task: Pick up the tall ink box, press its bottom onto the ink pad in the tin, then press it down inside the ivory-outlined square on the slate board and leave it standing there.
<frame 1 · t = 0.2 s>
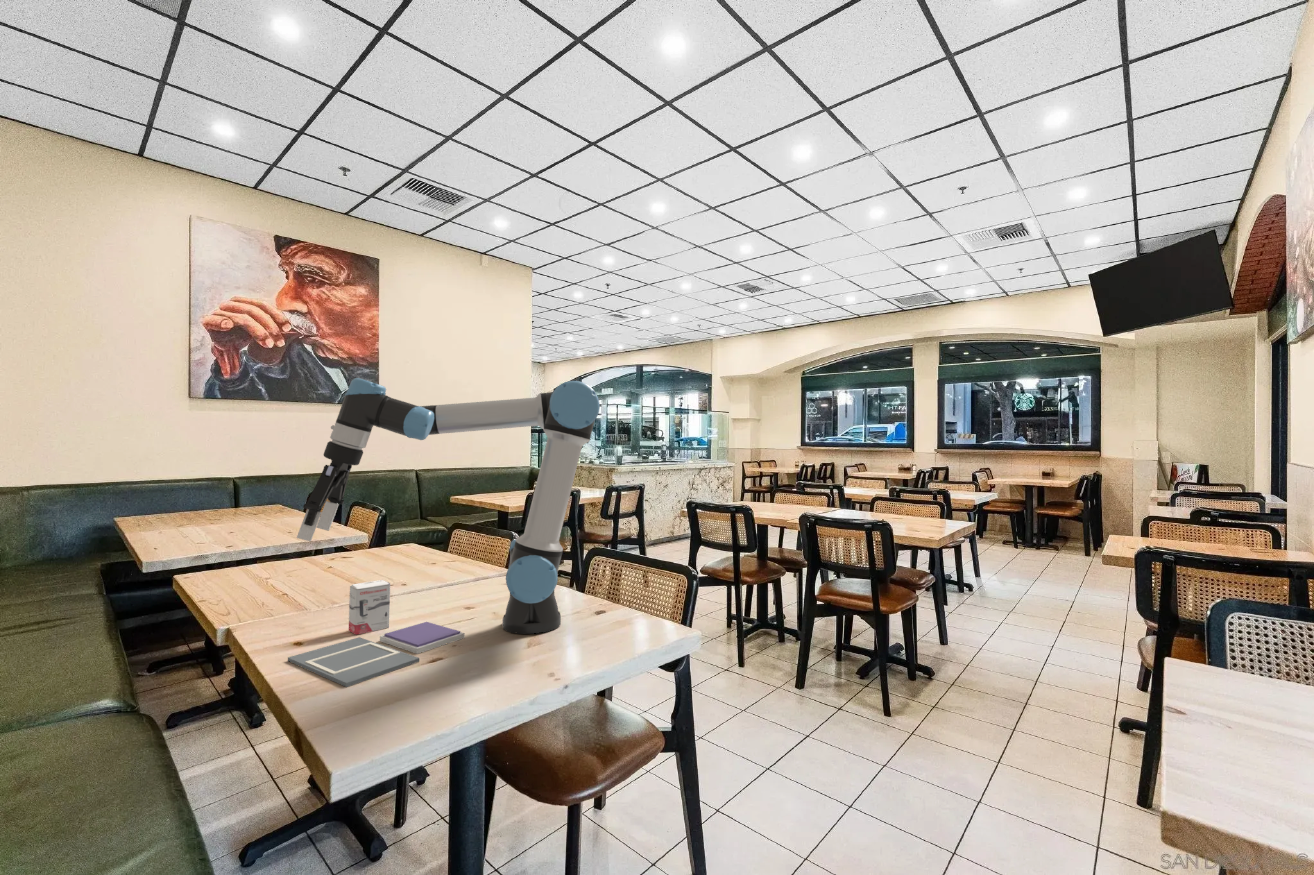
hand: (313, 534, 128), 27 cm above the table, tool tilted 20°, fingers open, 13 cm apart
ink pad: (422, 639, 139), on the table
ink box: (369, 630, 146), on the table
slate board: (353, 661, 125), on the table
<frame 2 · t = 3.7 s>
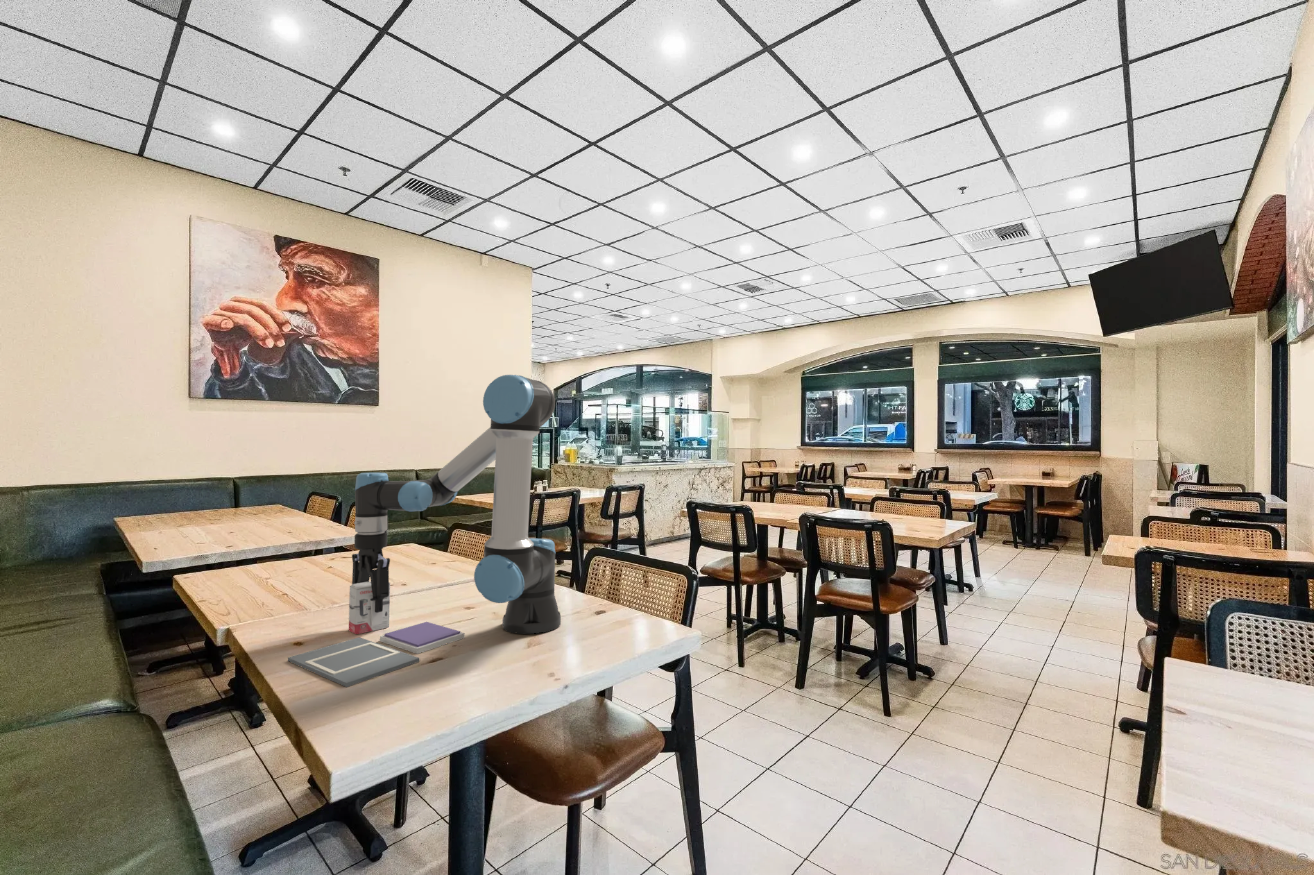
hand: (369, 622, 146), 2 cm above the table, tool pointing down, fingers closed on ink box, 5 cm apart
ink box: (369, 630, 146), on the table, touching gripper
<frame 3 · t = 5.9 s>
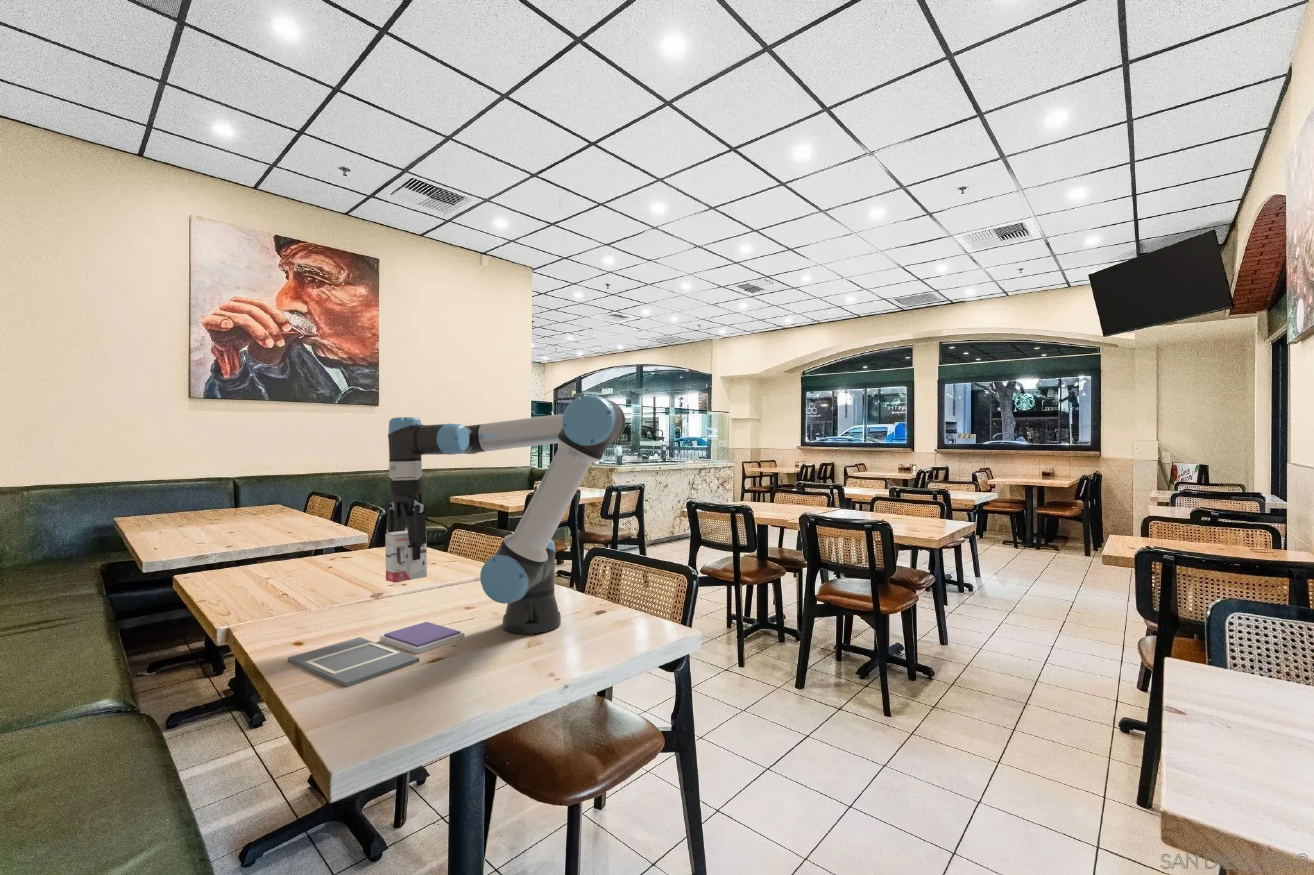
hand: (407, 571, 142), 16 cm above the table, tool pointing down, fingers closed on ink box, 5 cm apart
ink box: (407, 579, 141), point 14 cm above the table, touching gripper
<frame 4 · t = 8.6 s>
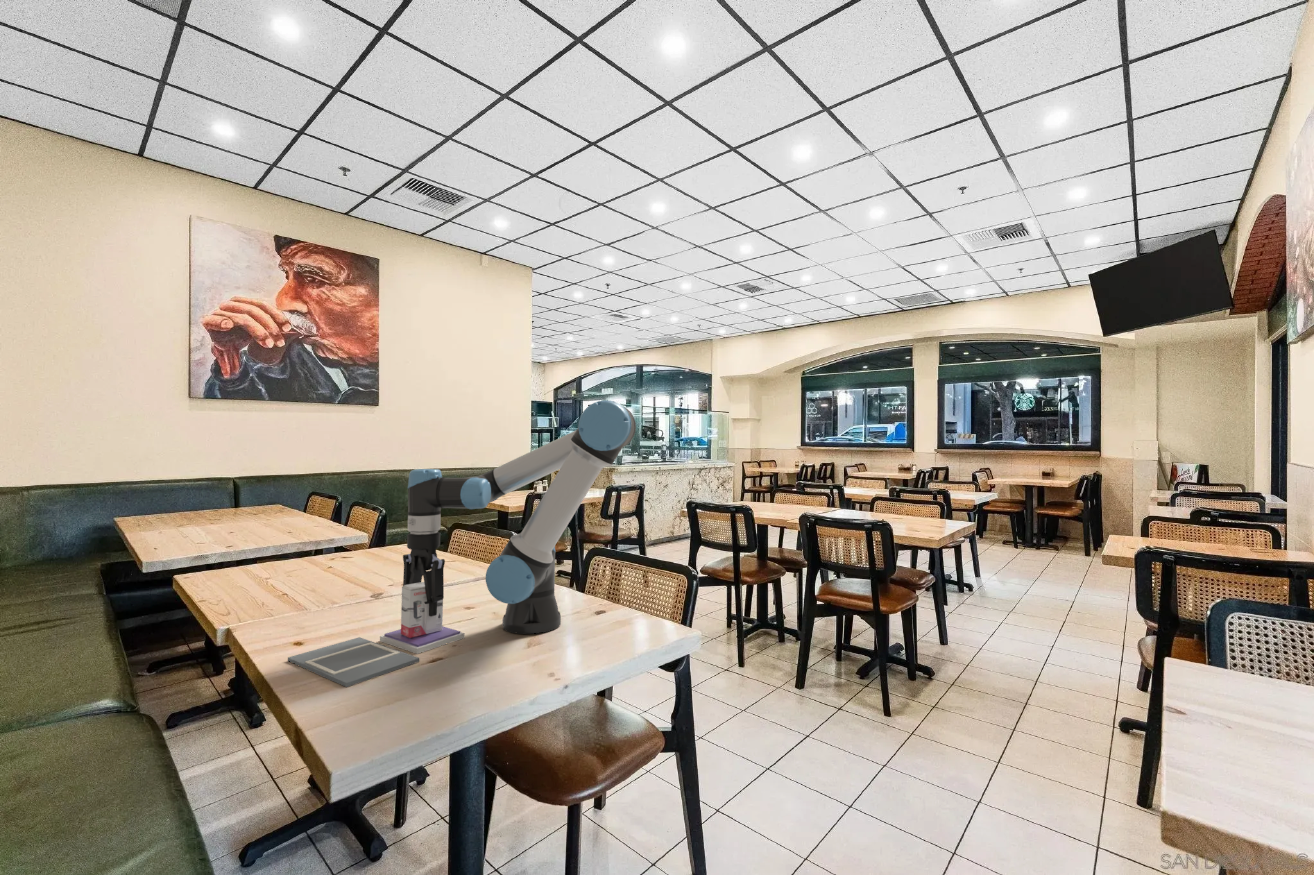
hand: (422, 626, 139), 3 cm above the table, tool pointing down, fingers closed on ink box, 5 cm apart
ink box: (422, 633, 139), point 2 cm above the table, touching gripper, ink pad
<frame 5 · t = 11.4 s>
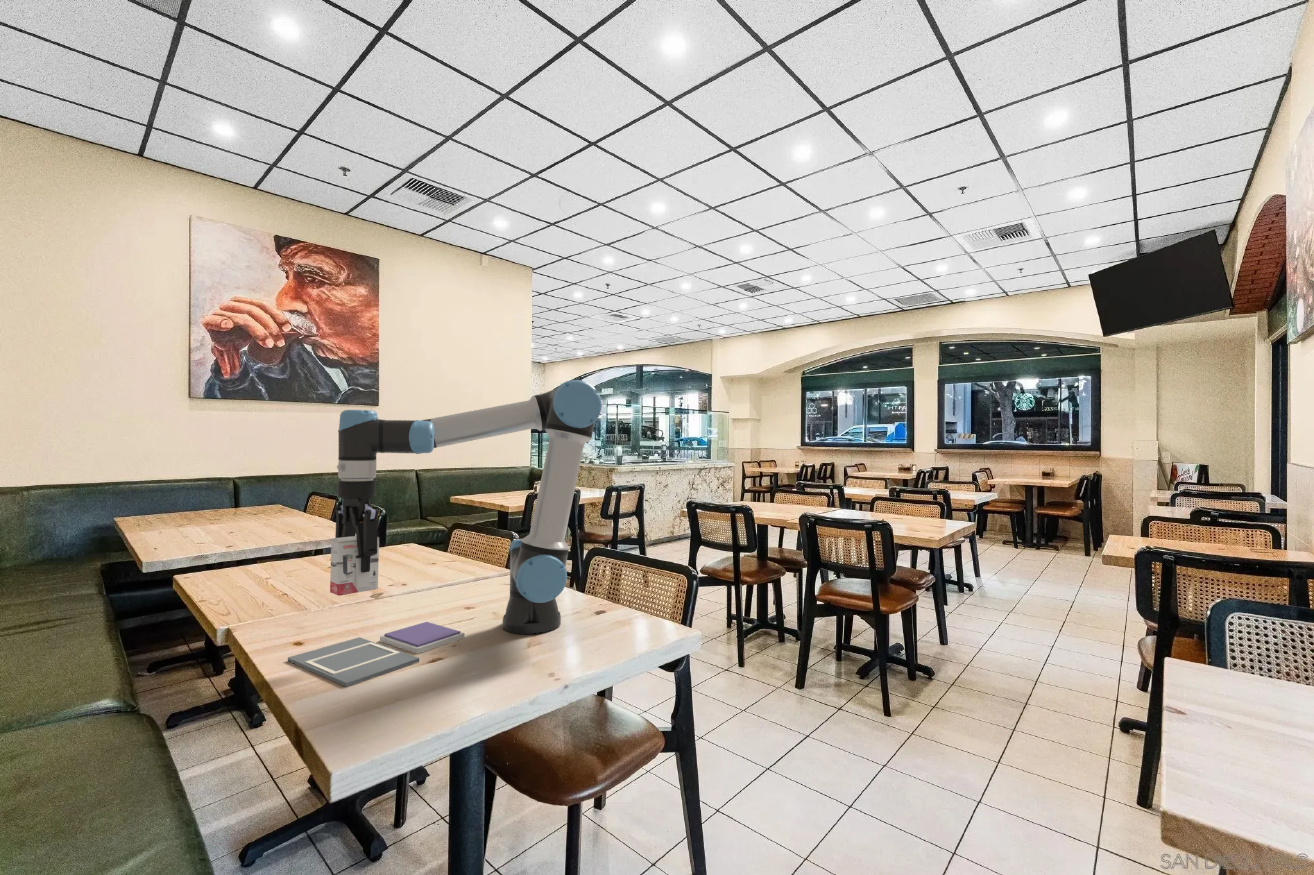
hand: (354, 584, 125), 17 cm above the table, tool pointing down, fingers closed on ink box, 5 cm apart
ink box: (355, 592, 125), point 15 cm above the table, touching gripper
when the fingers open (3 cm above the table, at t = 14.2 s): ink box stays where it is, resting on slate board.
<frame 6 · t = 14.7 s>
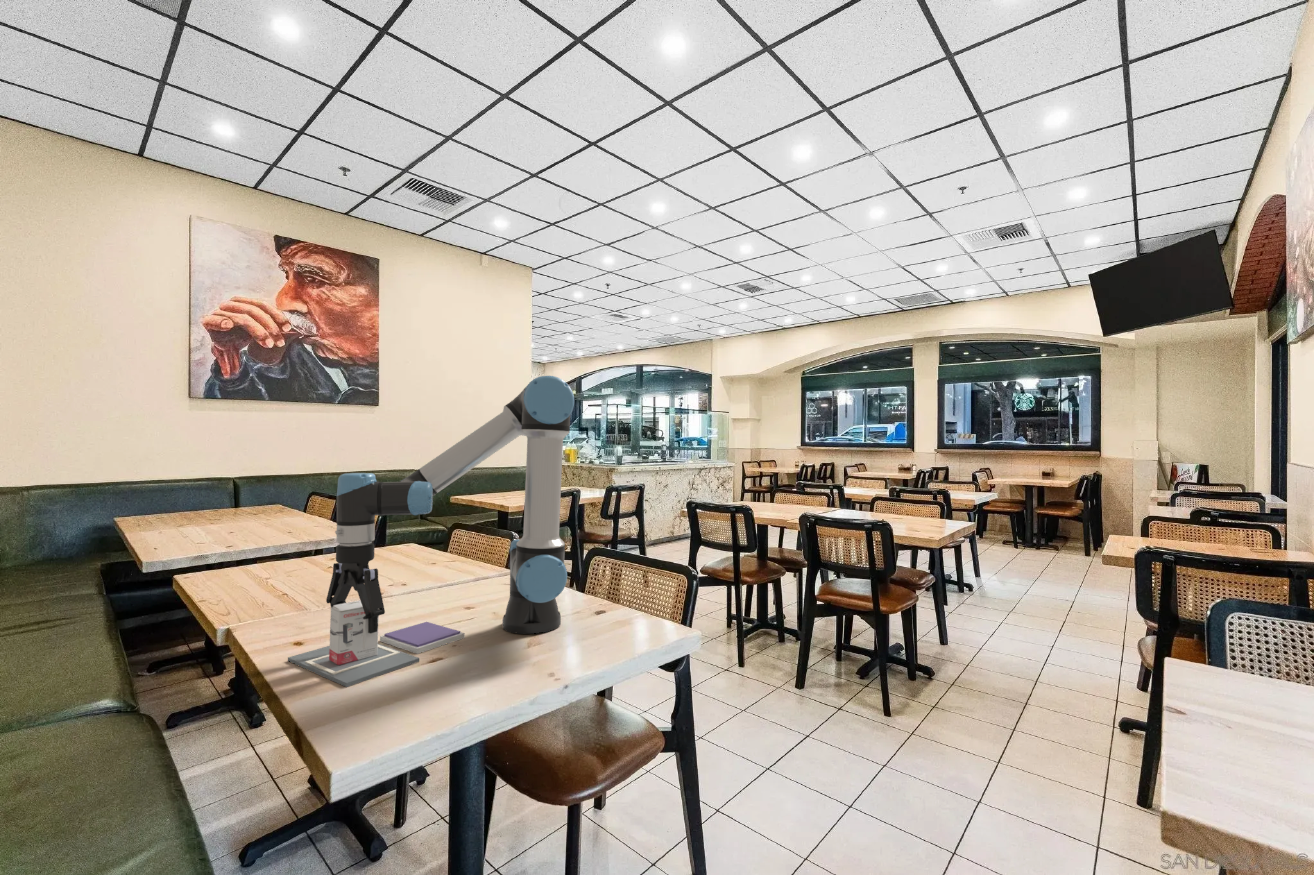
hand: (354, 641, 125), 4 cm above the table, tool pointing down, fingers open, 12 cm apart
ink box: (354, 658, 124), point 1 cm above the table, touching slate board
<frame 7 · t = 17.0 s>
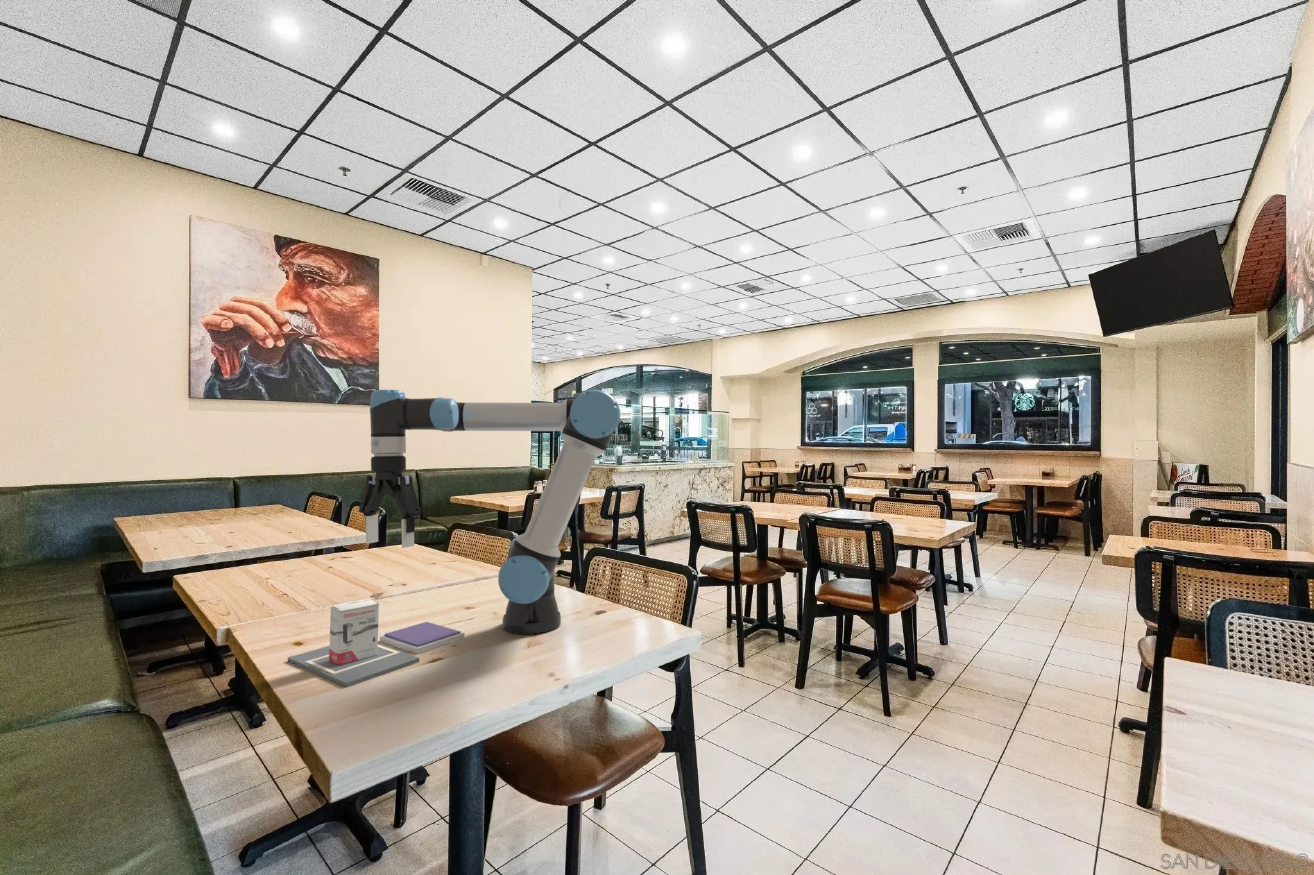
hand: (389, 544, 134), 24 cm above the table, tool pointing down, fingers open, 13 cm apart
nothing on the table moved.
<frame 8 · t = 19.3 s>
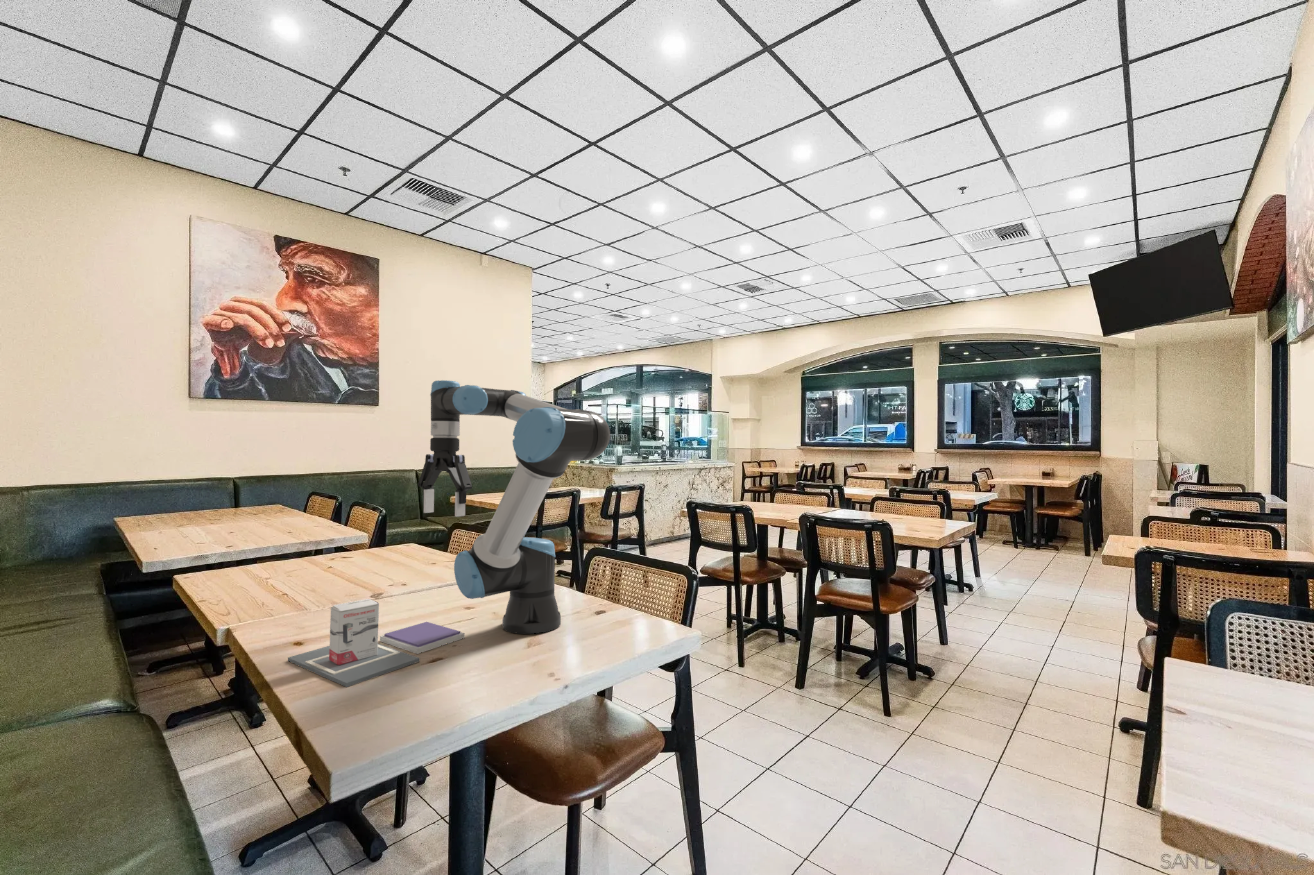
hand: (444, 514, 156), 29 cm above the table, tool pointing down, fingers open, 13 cm apart
nothing on the table moved.
at the end: ink box inside the target area on the slate board (0.2 cm from its centre), point 0.6 cm above the slate board's base; ink box tilted 0°; the gripper is holding nothing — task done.
